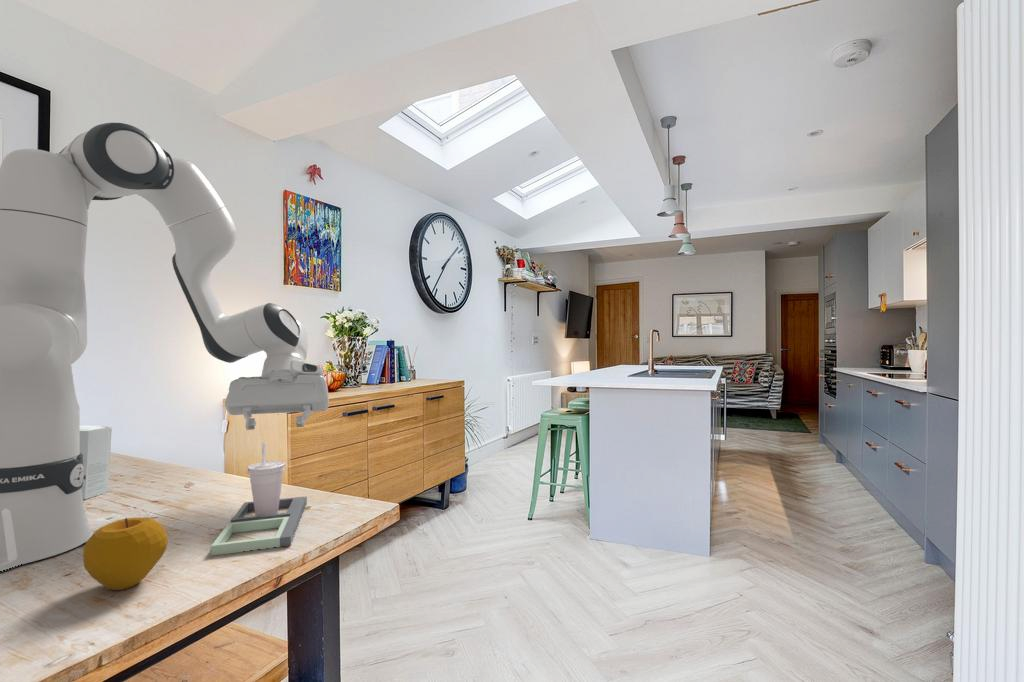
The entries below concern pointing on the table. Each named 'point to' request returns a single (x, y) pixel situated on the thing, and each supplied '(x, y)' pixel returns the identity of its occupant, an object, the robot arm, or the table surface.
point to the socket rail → (261, 527)
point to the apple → (124, 551)
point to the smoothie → (266, 484)
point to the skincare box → (95, 459)
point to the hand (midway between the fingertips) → (275, 426)
